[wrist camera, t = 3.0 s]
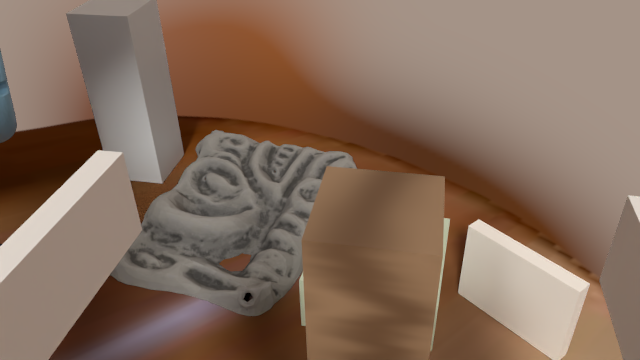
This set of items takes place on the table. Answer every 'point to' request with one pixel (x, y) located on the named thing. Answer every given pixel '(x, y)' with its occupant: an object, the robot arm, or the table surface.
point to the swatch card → (521, 289)
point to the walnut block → (373, 265)
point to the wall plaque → (231, 223)
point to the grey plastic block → (129, 83)
